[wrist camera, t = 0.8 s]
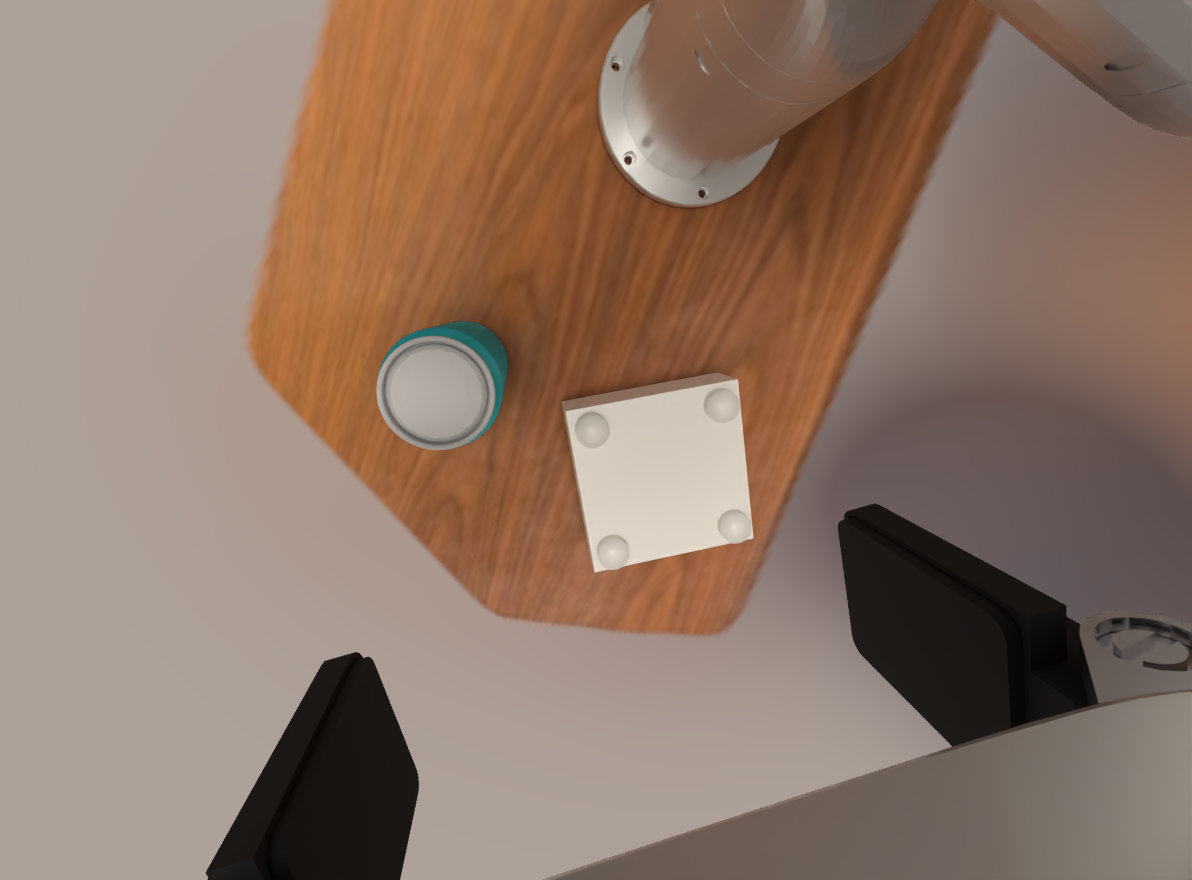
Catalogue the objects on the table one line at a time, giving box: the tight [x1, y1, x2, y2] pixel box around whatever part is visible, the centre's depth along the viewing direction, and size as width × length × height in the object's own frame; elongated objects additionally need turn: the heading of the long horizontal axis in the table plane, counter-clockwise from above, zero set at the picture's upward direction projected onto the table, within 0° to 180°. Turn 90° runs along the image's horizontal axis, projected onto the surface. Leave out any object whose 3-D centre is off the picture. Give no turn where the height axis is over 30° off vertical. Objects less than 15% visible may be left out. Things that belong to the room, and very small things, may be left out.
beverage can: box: [376, 321, 508, 450], centre depth 32 cm, size 6×6×15 cm
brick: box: [561, 372, 753, 572], centre depth 40 cm, size 12×12×5 cm
